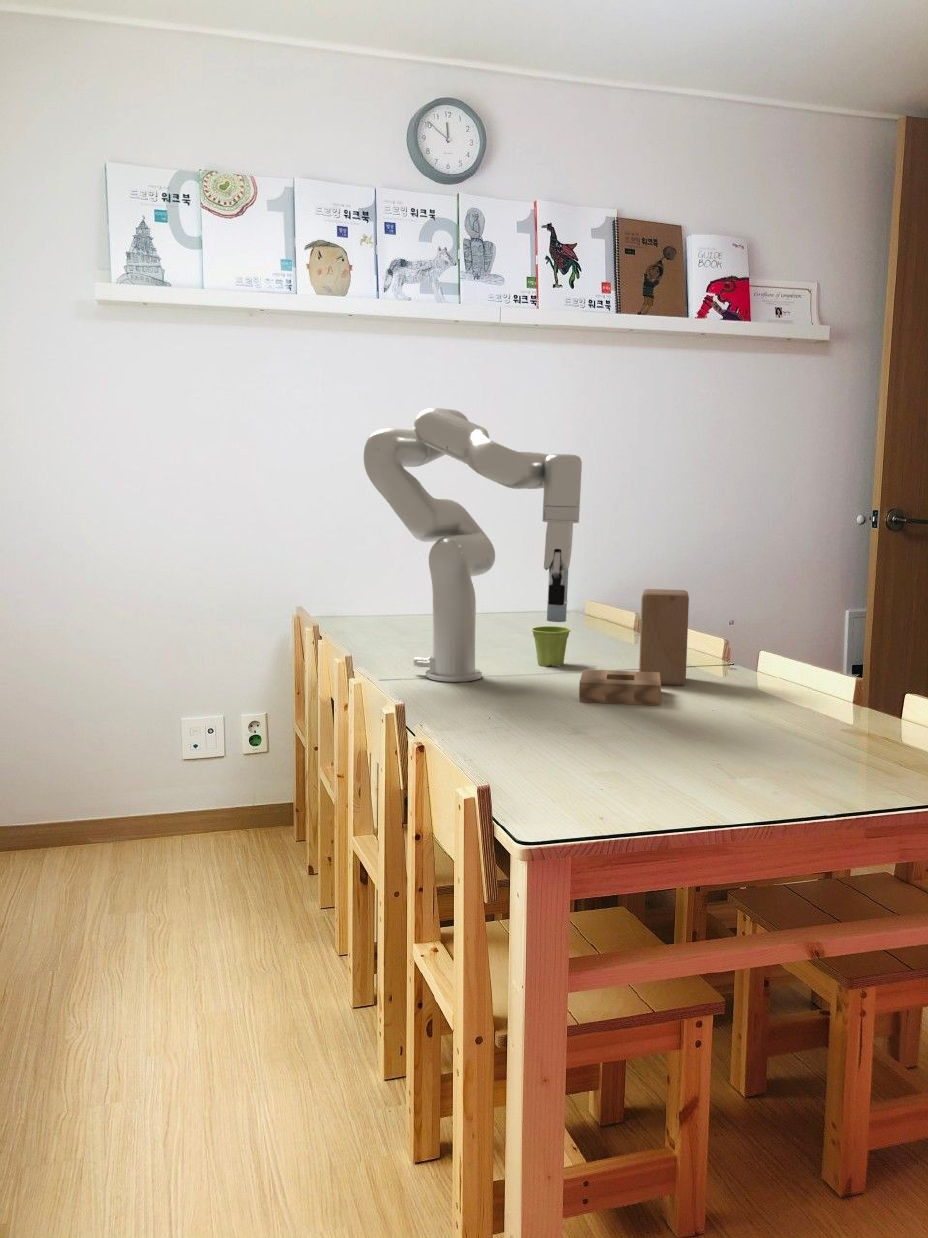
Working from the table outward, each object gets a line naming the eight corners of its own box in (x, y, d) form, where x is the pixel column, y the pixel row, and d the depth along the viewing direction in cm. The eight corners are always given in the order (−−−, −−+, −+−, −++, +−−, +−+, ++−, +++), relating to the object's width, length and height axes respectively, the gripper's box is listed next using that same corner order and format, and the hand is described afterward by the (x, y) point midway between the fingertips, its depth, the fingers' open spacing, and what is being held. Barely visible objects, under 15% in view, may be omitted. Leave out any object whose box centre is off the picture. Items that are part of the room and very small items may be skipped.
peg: (545, 621, 210) (548, 563, 208) (547, 618, 214) (549, 562, 213) (565, 622, 210) (568, 564, 208) (567, 619, 214) (569, 562, 212)
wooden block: (685, 686, 219) (689, 594, 216) (638, 684, 221) (641, 593, 218) (685, 677, 229) (688, 589, 226) (640, 675, 231) (642, 588, 228)
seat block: (579, 702, 203) (579, 682, 203) (582, 687, 217) (583, 669, 216) (660, 705, 200) (661, 685, 200) (658, 690, 214) (659, 672, 214)
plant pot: (551, 669, 237) (551, 633, 236) (522, 664, 244) (523, 628, 243) (578, 665, 243) (578, 629, 242) (549, 659, 250) (550, 624, 249)
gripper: (546, 512, 217) (542, 597, 220) (539, 516, 201) (535, 607, 204) (581, 513, 216) (577, 599, 219) (577, 517, 200) (572, 609, 203)
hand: (557, 602), depth 211 cm, fingers closed on peg, 4 cm apart
